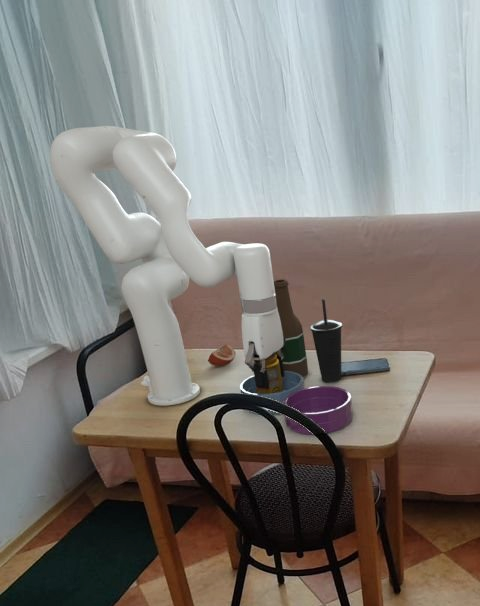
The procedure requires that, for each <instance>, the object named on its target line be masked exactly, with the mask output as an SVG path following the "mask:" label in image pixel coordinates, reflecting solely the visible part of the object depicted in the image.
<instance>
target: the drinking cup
mask: <svg viewBox="0 0 480 606" xmlns="http://www.w3.org/2000/svg"><path fill="white" fill-rule="evenodd" d="M321 304H322V314H323V319H321V320H319V321H317V322H315V323H312V324H311V325H310V326H309V329H310V331H311V334H312V339H313V343H314V344H313V345H314V348H315V353H316V358H317V362H318V363H317V364H318V367H319V372H320V376H321V381H322V382H323V383H329V384H330V383H337V382H339V381H341V380H342V328H343V323H342V322H340V321H338V320H334V319H328V317H327V308H326V299H325V298H322V299H321Z"/></svg>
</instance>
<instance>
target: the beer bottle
mask: <svg viewBox="0 0 480 606" xmlns="http://www.w3.org/2000/svg"><path fill="white" fill-rule="evenodd" d="M288 286H289V282H288V280H287V279H276V280H275V281H274V288H275V295H276V302H277V310H278V313H279V317H280V321H281V326H282V332H283V337H284V338H285V339H286V340H285V344H284V350H283V367H284V371H292V372H295V373H298V374H300V375H301V376H302V378H303V379H304V378H305V377H306V376H307V375H308V374H309V367H308V366H309V365H308V359H307V358H308V357H307V351H306V343H305V337H304V335H305V334H304V329H303V325H302V323H301V321H300V319H299V318H298V316H296V314H295V313H294V310H293V307H292V303H291V302H292V301H291V296H290V292H289V287H288Z"/></svg>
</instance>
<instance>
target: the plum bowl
mask: <svg viewBox="0 0 480 606" xmlns="http://www.w3.org/2000/svg"><path fill="white" fill-rule="evenodd" d="M352 400H353V399H352V395H351V393H350V392H349V390H346V388H342V387H338V386H332V385H318V386H309V387H304V389H302V390H298V391H296V392H294V393H292V394H290V395H289V396H287V397H286V398H285V400H284V402H283V404H285V405H288V406H290V407H293V408H295V409H297V410H299V411H300V412H301V413H302V414H304V415H306V416H307V417H308V418H310V419H312V420H313V421H314V422H315V423H316V424H318V425H319V426H320V427H321V428H323V429H324V430H325V432H326V433H327V434H330V433H335V432H337V431H340V430H341V429H344V428H346V427H347V426H348V425H349V424H350V423H351V422H352V421H353V417H354V411H353V401H352ZM284 418H285V424H286V427H287V428H288V429H289V430H291V431H293V432H294V433H297V434H300V435H307V436H315V435H314V434H312V433H311V432H309V431H308V430H307V429H306V428H305V427H303V426H302V425H300V424H299V423H297V422H295V421H294V420H292V419H290V418H288V417H286V416H285V415H284Z"/></svg>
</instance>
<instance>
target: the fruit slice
mask: <svg viewBox="0 0 480 606" xmlns="http://www.w3.org/2000/svg"><path fill="white" fill-rule="evenodd" d="M235 357H236V351H235V349H234V348H233V347H232V346H231V345H230V344H229V343H225V344H224V345H223V346H221V347H220V348H218V349H216V350H214V351H212V352H211V353H210V355H209V357H208V359H207V362H208V363H209V364H210V365H211V366H214V367H225V366H228V365H229V364H230V363H232V362H233V361H234V359H235Z"/></svg>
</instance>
